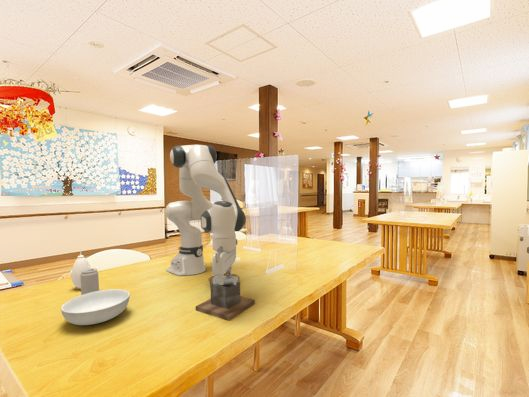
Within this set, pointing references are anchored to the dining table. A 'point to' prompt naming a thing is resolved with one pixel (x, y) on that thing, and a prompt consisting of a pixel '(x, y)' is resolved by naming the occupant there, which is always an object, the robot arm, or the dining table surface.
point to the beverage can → (89, 281)
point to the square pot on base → (225, 302)
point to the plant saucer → (224, 275)
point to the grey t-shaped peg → (226, 280)
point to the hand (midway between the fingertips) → (225, 280)
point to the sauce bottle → (79, 270)
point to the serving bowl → (95, 306)
